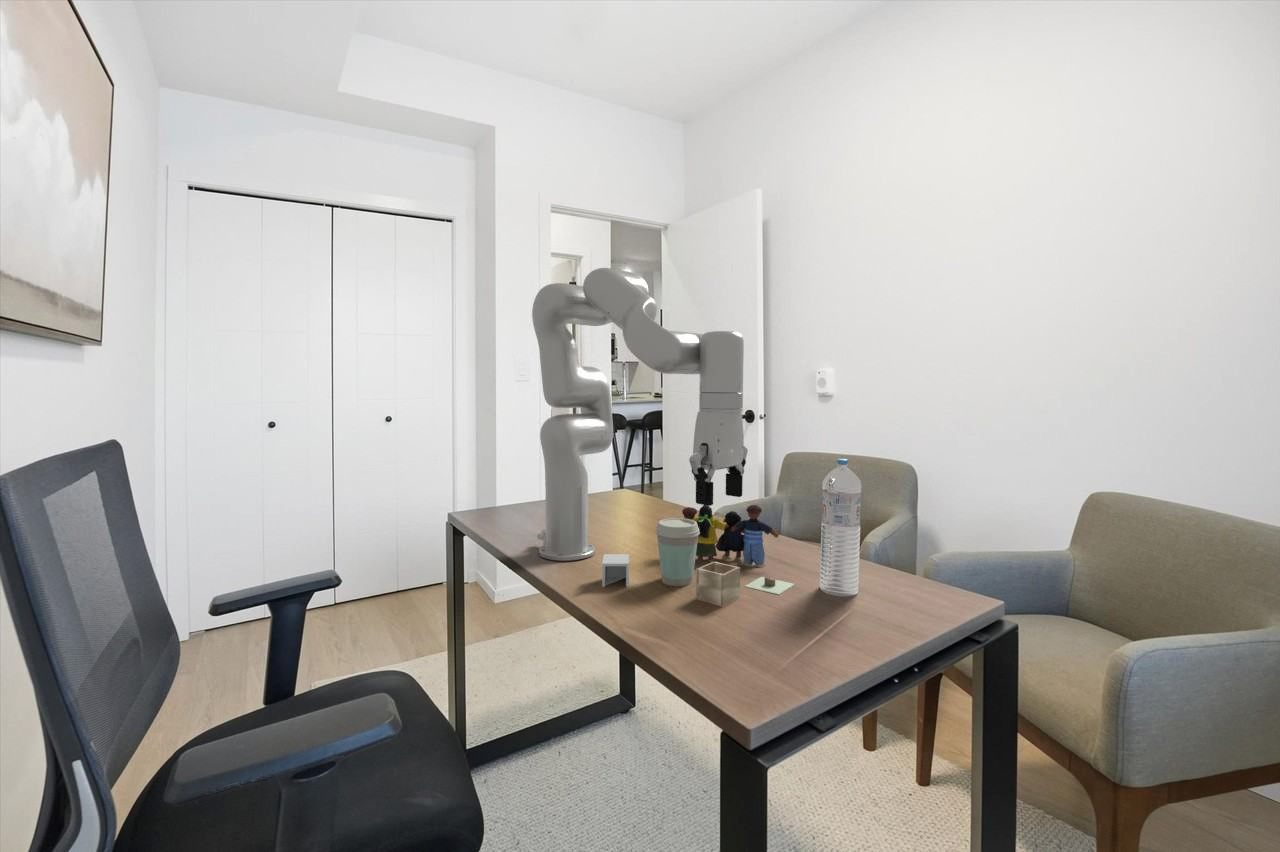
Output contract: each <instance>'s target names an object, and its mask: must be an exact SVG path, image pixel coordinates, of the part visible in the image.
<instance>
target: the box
mask: <svg viewBox="0 0 1280 852" xmlns="http://www.w3.org/2000/svg"><path fill="white" fill-rule="evenodd" d="M695 580H696V587H695V589H696V590H695V591H696V594H695V595H696V597H695V599H696V600H698V601H701V602H704V603H709V604H712V605H716V606H719V607H722V608H723V607H725V606H728V605H730V604H731V603H733V602H735V601H737V600H738V599H740V598H741V567H740V566H737V565H736V566H735V565H732V564H731V565H730V564H727V563H723V562H722V563H721V562H718V561H715V560H714V561H710V563H707V564H705V565H701V566H700V567H698V568H696V579H695Z"/></svg>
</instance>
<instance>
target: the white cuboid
mask: <svg viewBox="0 0 1280 852" xmlns="http://www.w3.org/2000/svg"><path fill="white" fill-rule="evenodd" d="M601 563H602V564H601V578H602V579H601V587H602V588H604V587H606V586H608V585H611V584H614V583H617V582H618V581H621V580H623V579H625V587H626V588H628V587H630V553H629V554H628V553H627V554H626V553H621V554H618V553H607V554H606V553H604V554H603V558H602V561H601Z"/></svg>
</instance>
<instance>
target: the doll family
mask: <svg viewBox="0 0 1280 852" xmlns="http://www.w3.org/2000/svg"><path fill="white" fill-rule="evenodd" d="M745 510H746V512H747V515H748V517H749V518H750V519H744V520H742V517H741V516H740V515H739V513H737V512H736V511H734V510H731V511H729V512H727V513H726V514H725V515H724V518H723V521H722V520H720V519H717V518H714V514H713V508H711V507H710V506H708V505H701V507H700V508H699V510H697V509H696V508H694V507H690V506H687V507H683V509H682V510H681V511H682V515H683V519H690V520H693V521H696V522H697V525H698V528H699V532H700V534H699V535H698V540H697V549H696V556H697V560H698V561H699V562H700V561H703V560H704V559H705V558H707V560H708V562H713V561H714V562H715V558H714V557H717V556H718V554H717V551H719V552H724V553H723V554H722V558H723V559H724V560H731V559H732V554H731V552H733V553H736V554H735V557H734V561H736V562H737V561H738V562H740V561H743V565H744V566H747V567H752V565H753V563H754V564H755V565H754V566H755V567H756V568H763V567H765V566H766V563H765V558H766V557H765V556H766V554H765V548H764V540H763V539H764V538H763V533H765V534H766V535H772V536H773V537H774V538H779V535H780V534H779V532H777V531H775V530H774V528H773V527H772V526H771V525H768V523H767V524H766V523H765V522H763V521H760V520H759V517H760V514H761V513H762V512H763V510H762V508H761V506H759V505H758V504H751V505H749V506H747V508H746V509H745ZM697 513H698V515H697ZM696 515H697V516H698V517H696ZM717 529H718V530H721V532H722V530H723V533H722V534H721V535H720V536H719V538H718V537H717V533H716V530H717Z"/></svg>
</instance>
